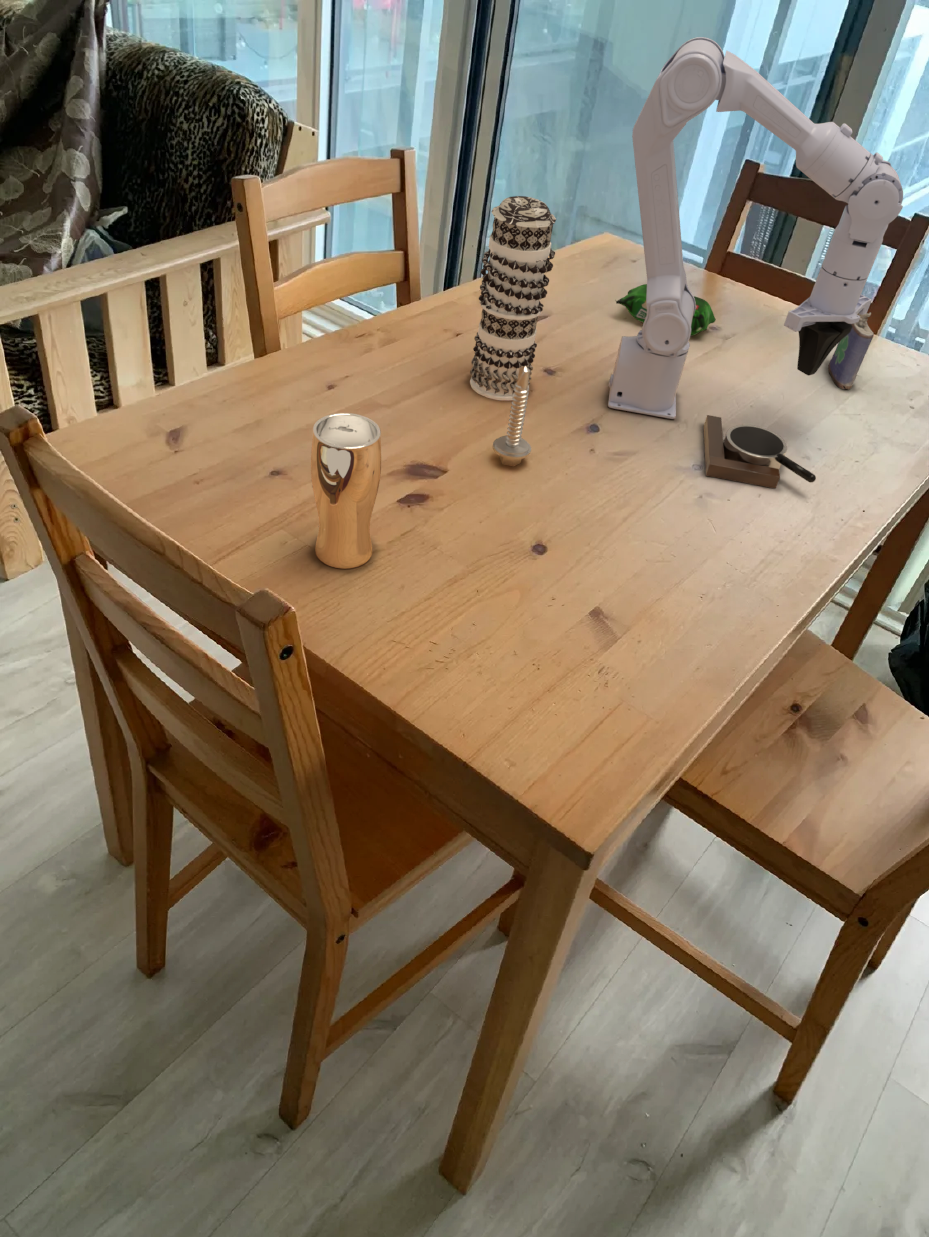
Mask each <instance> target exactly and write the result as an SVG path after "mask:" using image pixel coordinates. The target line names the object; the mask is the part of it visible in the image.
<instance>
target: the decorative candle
mask: <svg viewBox="0 0 929 1237" xmlns="http://www.w3.org/2000/svg"><path fill="white" fill-rule="evenodd" d="M491 214H492V216H493V220H492V231H491V233H490V235H489V240H488V249H487V251H485V252H484V253H483V257H482V258H481V262H482V268H481V270H480V274H481V275H482V280H481V284H480V286H479V289H480V295H479V296H478V301H479V305H480V307H481V309H482V310H481V319H480V321H479V323H478V329H477V332H476V335H475V336H474V342H475V345H474V346H473V349H472V351H473V352H474V355H473V357H472V359H471V362H470V363H471V366H472V367H471V368H470V375H471V377H470V380H469V385H470V387H471V389H472V391H474V392H475V393H476V394H478V395H480V396H483V397H484V398H487V399H491V400H496V401H513V399H512V398H513V397H514V395H513V393H514V392H515V391H514V388H516V386H515V384H517V381H518V375H519V369H520V367H523V366H526V367H527V368H528V369H529V370H530V375H529V381H528V387H529V388H530V384H531V380H532V376H531V375H532V373H533V372H532V371H533V370H534V366H533V365H532V364H533V362H534V359H535V358H536V354H535V352H536V348H537V347H538V343H537V342H536V337H537V333H538V332H537V331H538V330H537V323H538V319H539V318H538V317H539V316H541V315H542V312H543V311H544V307H545V306H544V304H543V303H541V301H540V300H543V299H545V298H546V297H547V294H548V291H547V289H546V288H545V287H548V286H549V283H550V278H549V277H548V276H547V275H546V274H547V273H549V272H551V271H552V269H553V267H554V264H553V263H552V262H551V261H550V260H553V259H554V258H555V255H556V251H555V250H553V249H552V242H551V240H552V234H553V228H554V225H555V223H556V221H557V218H556V217H555V215H554V214H553V213H552V212H551V210H550V208H549V207H548V205H547V204H546V202H544V201H542V200H541V199H538V198H535V197H532V196H531V197H530V196H525V195H513V196H509V197H506V198H504V199H503V200H502V201H501V203H500V204H499V205H497V206H494V207H493V208H492V210H491Z"/></svg>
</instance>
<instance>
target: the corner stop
mask: <svg viewBox="0 0 929 1237" xmlns="http://www.w3.org/2000/svg"><path fill="white" fill-rule="evenodd" d="M722 421H723V420H722V417H721V416H716V415H711V414H706V417H705V420H704V424H703V441H704V442H703V444H704V464H705V477H711V478H716V479H720V480H721V479H722V480H727V481H732V482H736V483H737V482H738V483H743V484H748V485H754V486H759V487H765V488H771V489H777V486H778V484H779V481H780V479H781V475H780V474H781V473H780V469H777V468H771V467H766V466H760V465H755V464H750V463H744V462H739V461H733V460H728V459H725V457H724V445H723V442H724V434H723V422H722Z"/></svg>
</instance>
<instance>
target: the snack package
mask: <svg viewBox="0 0 929 1237" xmlns="http://www.w3.org/2000/svg"><path fill="white" fill-rule="evenodd" d="M646 295H647V283H644V284H641V285H639V286H636V287H633V288H631V289H630V290H628V291H627V294H626V295H625V296H623V297H620V298H619V299H617V300H615V304H616V305H618V304H619V305H622V306H623V307H625V308H626V310H627V311H628V313H629V314H630V316H632V317H633V318H634V319H635V320H637V321H638V322H640V323H643V324H644V321H645V319H646V316H647V305H646ZM693 296H694V298H695V302H696V309H695V313H694V316H693V318H692V324H691V336H695V335H697V334H699V333H701V332H704V331H706V330H707V329H708V327H709V325H711V324H714V323H715V322H716V321H717V320H716V316H715V314H714V312H713V309H712V307H711V305H710V304H709V302H708V301H707V300H706V299H704V298H701V297H698V296H695V295H693ZM691 336H690V337H691Z"/></svg>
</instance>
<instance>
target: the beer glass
mask: <svg viewBox="0 0 929 1237" xmlns="http://www.w3.org/2000/svg"><path fill="white" fill-rule="evenodd" d="M381 436H382V431H381V428H380V426H379V424H378V423H377V422H375V421H374V420H373V419H371V418H369V417H367V416H364V415H362V414H359V413H351V412H336V413H330V414H327V415H324V416H322V417H320V418H319V419H318V420H316V421H315V423H314V424H313V427H312V441H311V452H310V475H311V476H310V478H311V485H312V491H313V496H314V500H315V505H316V510H317V516H318V524H319V525H318V533H317V537H316V541H315V546H314V551H315V555H316V558H318V560H319V561H320V562H322V563H323V564H324V565H327V566H329V567H331V568H335V569H342V570H344V569H346V570H347V569H348V570H349V569H354V568H355V569H356V568H359V567H361V566H363V565H364V564H366V563H368V561H369V560H370V559H371V557H372V555H373V545H372V538H371V533H370V531H371V530H370V529H371V526H370V525H371V519H372V515H373V511H374V507H375V503H376V501H377V500H376V499H377V496H378V492H379V487H380V482H381V472H382V443H381V440H382V439H381Z"/></svg>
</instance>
